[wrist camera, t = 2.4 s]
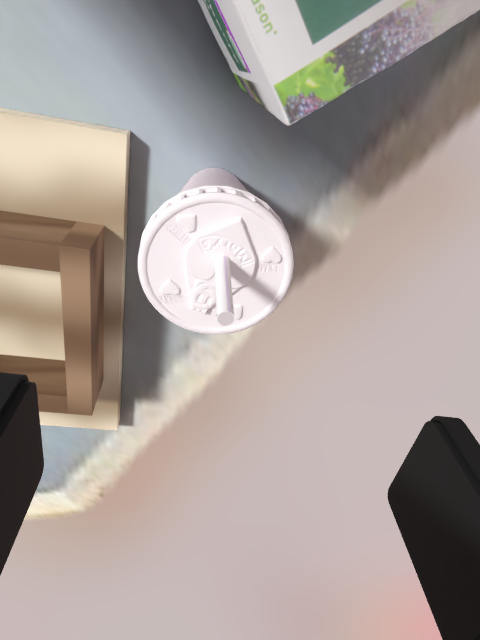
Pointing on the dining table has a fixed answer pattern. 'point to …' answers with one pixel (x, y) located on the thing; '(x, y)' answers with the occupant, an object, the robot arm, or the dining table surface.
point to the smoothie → (215, 256)
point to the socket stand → (64, 263)
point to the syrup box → (321, 44)
